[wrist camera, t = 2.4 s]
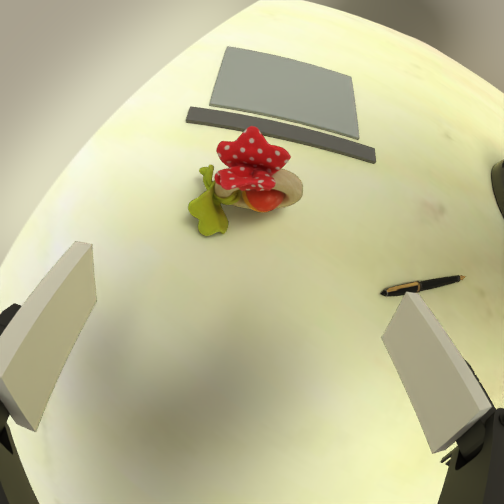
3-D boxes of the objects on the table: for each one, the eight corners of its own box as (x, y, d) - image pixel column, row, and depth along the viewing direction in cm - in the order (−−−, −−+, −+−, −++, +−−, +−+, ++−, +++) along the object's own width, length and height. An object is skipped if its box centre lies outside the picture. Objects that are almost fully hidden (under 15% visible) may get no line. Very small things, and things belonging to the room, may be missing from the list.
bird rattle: (255, 186, 32) (173, 170, 27) (331, 132, 23) (236, 93, 18) (261, 243, 31) (173, 234, 25) (348, 201, 22) (244, 173, 17)
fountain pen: (461, 273, 32) (469, 270, 31) (463, 282, 32) (471, 279, 31) (376, 289, 29) (383, 286, 28) (378, 300, 29) (386, 298, 28)
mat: (362, 83, 38) (363, 80, 37) (374, 163, 33) (376, 161, 33) (212, 46, 35) (213, 43, 34) (186, 122, 31) (186, 119, 30)
